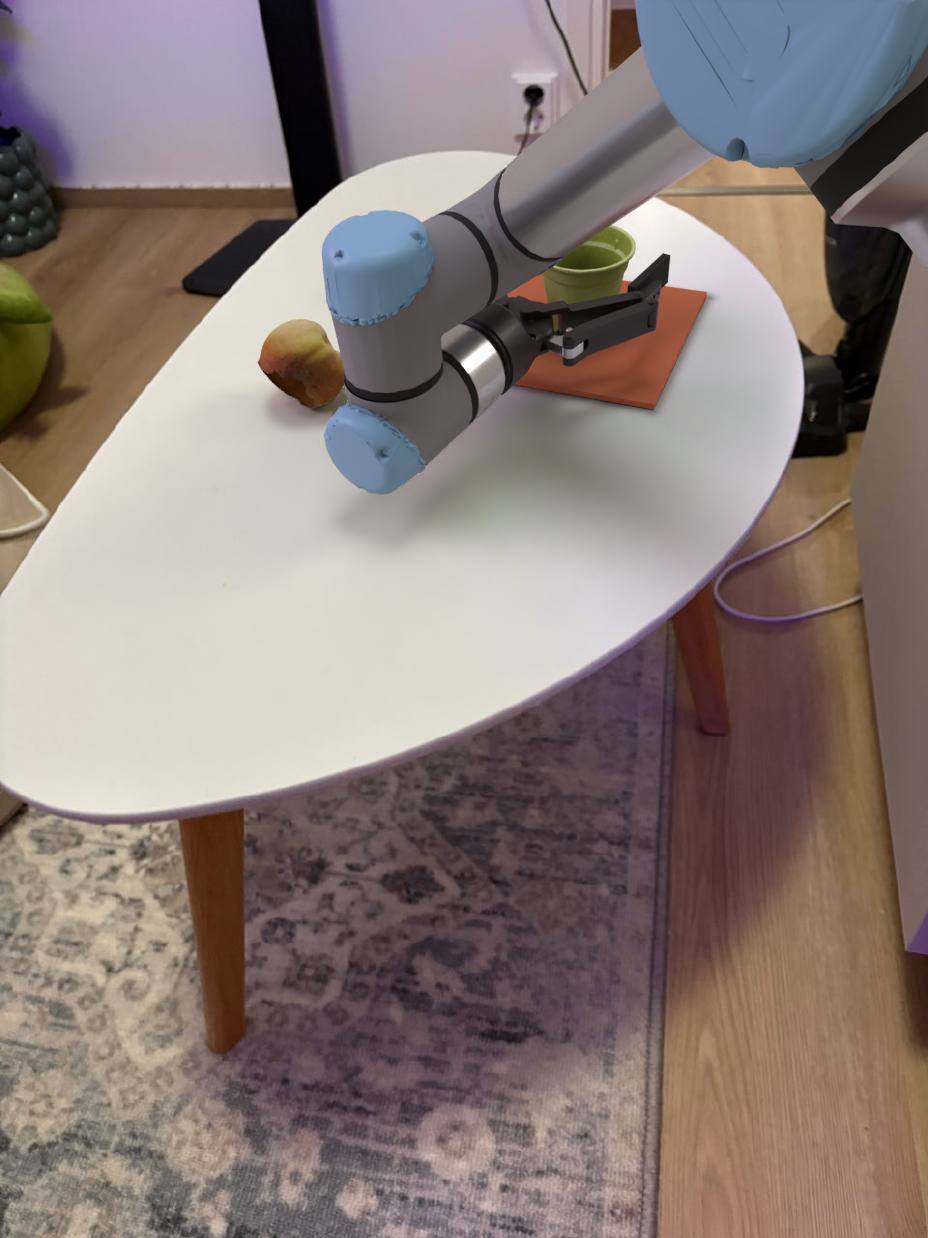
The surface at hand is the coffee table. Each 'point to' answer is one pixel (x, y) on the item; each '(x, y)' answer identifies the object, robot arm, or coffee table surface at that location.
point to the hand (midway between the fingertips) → (601, 250)
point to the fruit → (303, 362)
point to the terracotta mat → (619, 354)
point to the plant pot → (590, 269)
